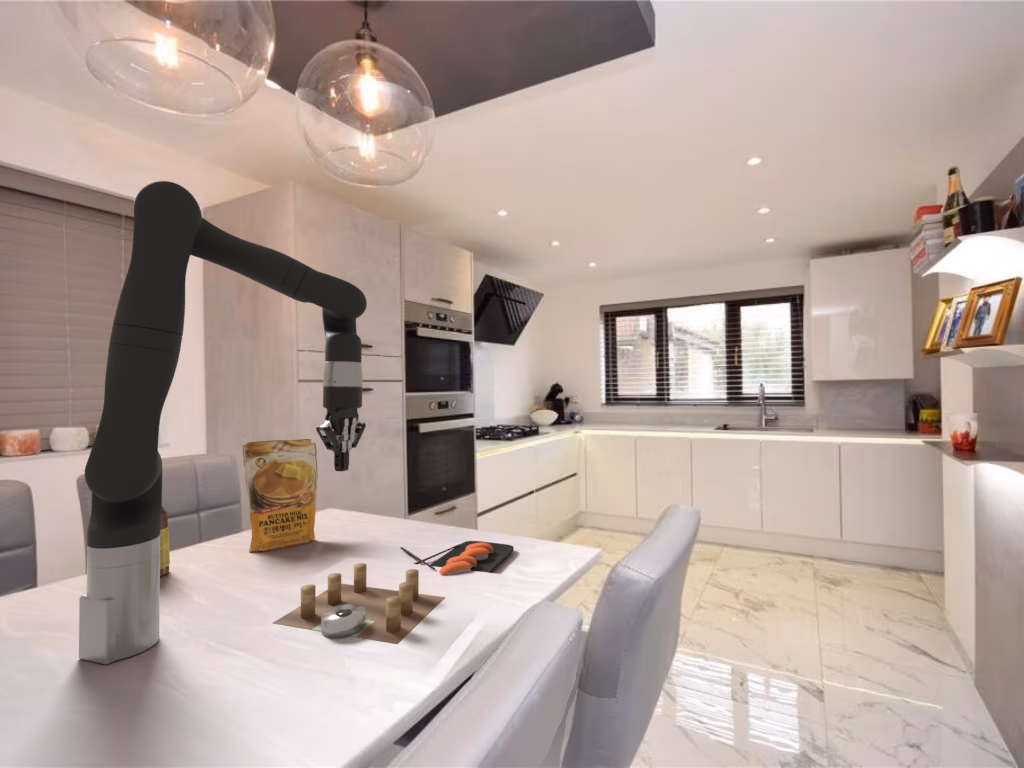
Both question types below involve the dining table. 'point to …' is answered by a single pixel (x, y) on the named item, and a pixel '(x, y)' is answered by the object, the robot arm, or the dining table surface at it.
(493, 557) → the sushi plate
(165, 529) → the sauce bottle
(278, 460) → the pancake mix bag
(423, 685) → the dining table surface
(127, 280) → the robot arm
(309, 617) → the board
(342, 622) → the pot lid
